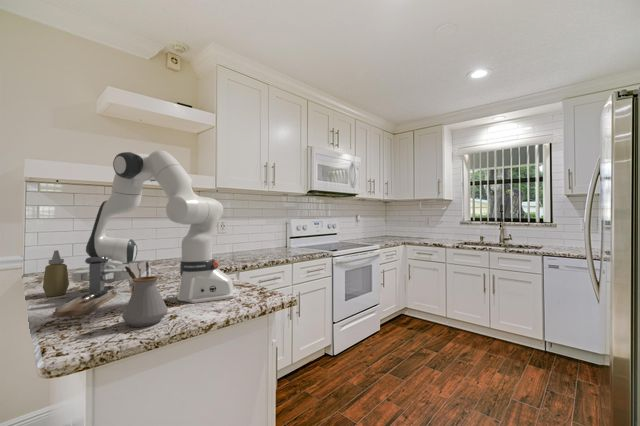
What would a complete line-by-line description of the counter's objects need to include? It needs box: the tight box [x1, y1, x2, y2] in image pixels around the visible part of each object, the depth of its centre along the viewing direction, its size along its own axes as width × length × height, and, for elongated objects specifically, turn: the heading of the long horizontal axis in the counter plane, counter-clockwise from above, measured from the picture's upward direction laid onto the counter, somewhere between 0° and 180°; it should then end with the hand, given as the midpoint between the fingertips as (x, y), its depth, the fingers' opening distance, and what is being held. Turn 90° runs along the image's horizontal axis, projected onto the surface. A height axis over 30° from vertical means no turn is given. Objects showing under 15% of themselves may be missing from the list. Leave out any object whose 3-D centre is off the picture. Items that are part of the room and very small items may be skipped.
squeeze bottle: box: [42, 250, 70, 297], centre depth 121 cm, size 8×8×18 cm
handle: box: [83, 256, 110, 302], centre depth 109 cm, size 7×12×14 cm, turn 16°
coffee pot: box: [121, 266, 168, 328], centre depth 90 cm, size 21×12×15 cm, turn 51°
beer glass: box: [127, 259, 152, 296], centre depth 107 cm, size 7×7×15 cm
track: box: [52, 289, 117, 318], centre depth 105 cm, size 9×24×2 cm, turn 16°
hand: (95, 278), depth 111 cm, fingers closed on handle, 3 cm apart
